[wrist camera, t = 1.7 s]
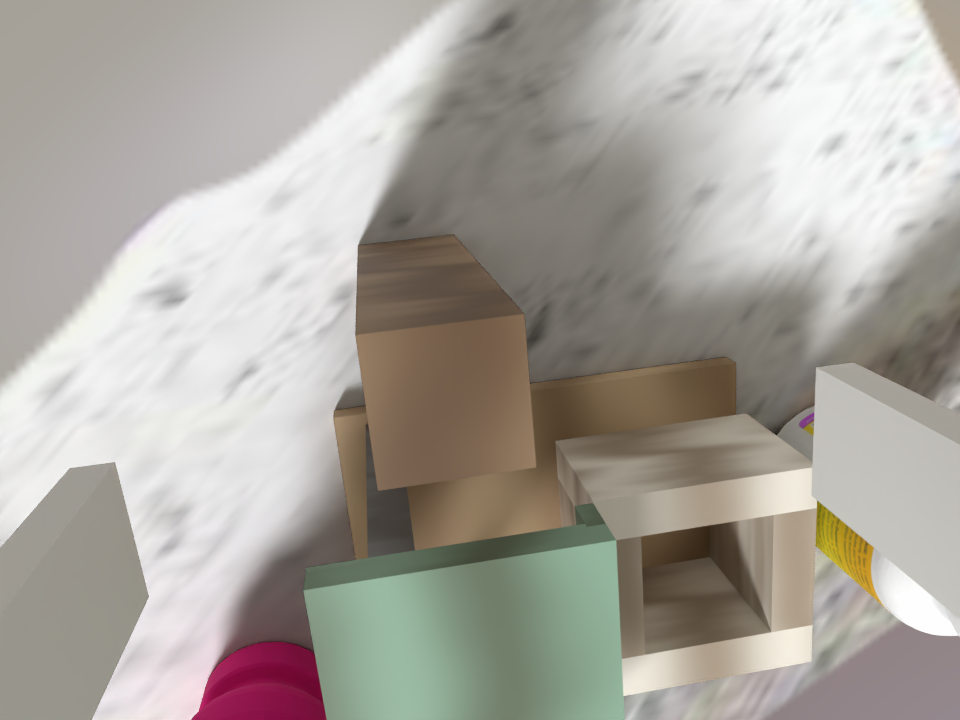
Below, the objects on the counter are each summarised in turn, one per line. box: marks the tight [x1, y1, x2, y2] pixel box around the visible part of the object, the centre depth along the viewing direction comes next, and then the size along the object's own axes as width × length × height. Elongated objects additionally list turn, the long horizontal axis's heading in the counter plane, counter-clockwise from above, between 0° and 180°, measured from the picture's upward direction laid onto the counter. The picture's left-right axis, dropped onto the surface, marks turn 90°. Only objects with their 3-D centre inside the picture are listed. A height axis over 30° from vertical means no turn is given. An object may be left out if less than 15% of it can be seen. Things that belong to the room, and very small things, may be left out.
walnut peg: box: [355, 235, 536, 491], centre depth 26 cm, size 4×4×15 cm
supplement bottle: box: [777, 406, 960, 637], centre depth 33 cm, size 7×7×13 cm
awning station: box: [303, 357, 817, 720], centre depth 31 cm, size 19×14×13 cm
